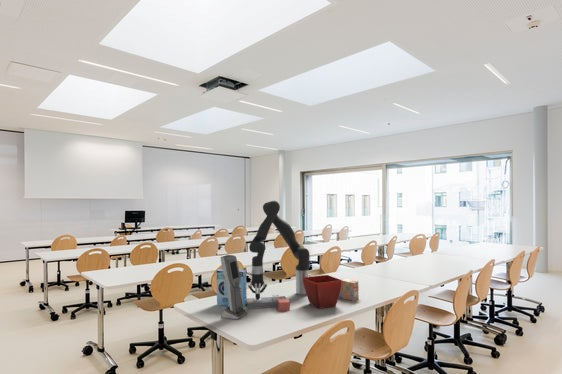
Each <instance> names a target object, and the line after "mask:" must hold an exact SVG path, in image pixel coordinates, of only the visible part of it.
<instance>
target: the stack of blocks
mask: <svg viewBox="0 0 562 374" xmlns="http://www.w3.org/2000/svg"><path fill="white" fill-rule="evenodd" d="M340 280H342V282H341V289H340V294H339V297H338V299H344V300H349V301H356V300H359V296H360V295H359V280H353V279H349V278H348V279H347V278H341V279H340Z"/></svg>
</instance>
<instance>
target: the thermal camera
mask: <svg viewBox="0 0 562 374" xmlns="http://www.w3.org/2000/svg"><path fill="white" fill-rule="evenodd" d="M220 263H221V269H222V270H223V274H224V278H225V279H224V281H225V282H226V287H227V295H228V301H229V306H226V308H225V309H224V310H223V312H222V313H221V318H223V319H231V320H237V321H238V320H240V319H241V318H243V317H244V316H246V315H247V314H248V313H247V310H246V309H245V308H244V307H243V304H242V299H241V294H240V289H239V284H240V282H241V277H240V273H239V270H240V269H239V265H238V261H237V257H236V256H235V255H233V254H227V255H224V256H220Z"/></svg>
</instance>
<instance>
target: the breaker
mask: <svg viewBox="0 0 562 374" xmlns="http://www.w3.org/2000/svg"><path fill="white" fill-rule="evenodd" d="M279 296H280V295H279V294H274V295H272V296H271V297H272V299H273V301H275V300H277V299H280V297H279Z"/></svg>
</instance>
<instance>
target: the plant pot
mask: <svg viewBox="0 0 562 374" xmlns="http://www.w3.org/2000/svg"><path fill="white" fill-rule="evenodd" d="M303 282H304V287H305V291H306V297H307V299H308V302H309V305H312V306H313V307H315V308H317V309H324V308H330V307H336V306H337V303H338V301H339V298H338V297H339V294H340V289H341V282H342V280H341V279H340V278H337V277H334V276H332V275H329V274H324V275H313V276H308V277H304V278H303Z"/></svg>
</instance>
